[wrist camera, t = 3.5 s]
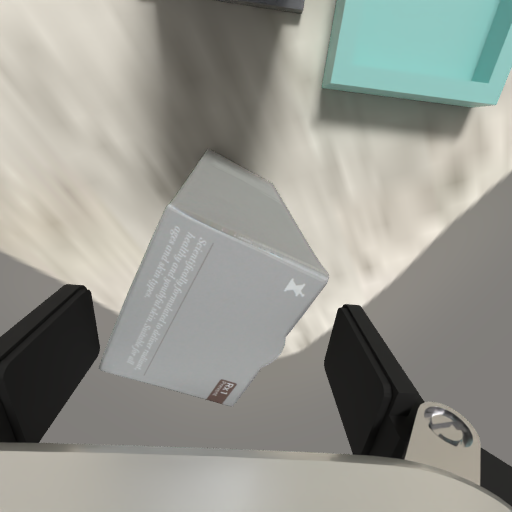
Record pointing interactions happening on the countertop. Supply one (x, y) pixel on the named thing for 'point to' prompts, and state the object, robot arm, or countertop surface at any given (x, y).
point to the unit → (273, 4)
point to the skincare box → (215, 287)
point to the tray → (421, 49)
